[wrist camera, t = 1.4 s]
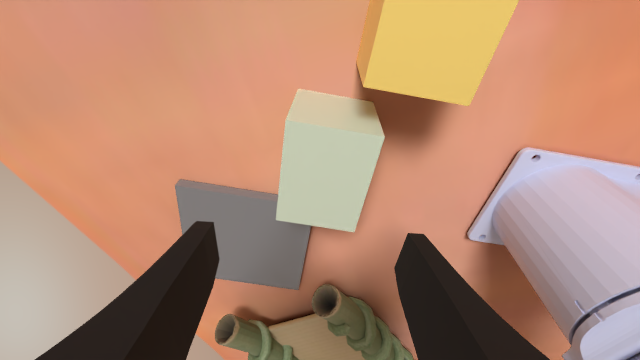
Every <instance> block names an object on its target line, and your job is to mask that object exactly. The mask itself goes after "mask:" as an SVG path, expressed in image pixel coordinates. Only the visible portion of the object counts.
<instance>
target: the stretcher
mask: <svg viewBox="0 0 640 360" xmlns="http://www.w3.org/2000/svg"><path fill="white" fill-rule="evenodd" d="M312 307H313V311H314V312H315V313H316V314H312V315H309V316H305V317H301V318H298V319H294V320H290V321H287V322H283V323H279V324H276V325H272V326H269V327H267V326H266V325H265V324H264V323H263V322H262V321H257V320H251V319H249V320H248V321H246V320H244V319H242V318H239V317H237V316H235V315H232V314H227V315H225V316H224V317H223V318H222V319H221V320H220V321H219V323H218V325H217V327H216V330H215V340H216V342H217V343H218V344H220V345H223V346H227V347H230V348H234V349H238V350H241V351H245V352H248V353H249V355H248V360H414V359H413V356H412V354H411V353H410V352H409V351H408V350H406V349H405V348H404V347H403V346H402V345H401V342H400V340H399V339H398V338H397V337H395V336H394V335H393V334H392V333H391V332H390V330H389V328H388V325H387V324H385V323H384V322H383V321H382V320H381V319H380V318H379V317H377V316H374V315H373V312H372V308H371V307H369V306H368V305H367V304H366V303H365V302H364V301H363V300H360V299H357V298H354V297H351V296H349V297H347V296H346V295H344V294H343V293H342V292H341V291H339V290H338V289H337V288H335V287H334V286H332V285H330V284H326V285H322V286H321V287H319V288H318V289H317V290H316V291H315V293H314V295H313V298H312Z"/></svg>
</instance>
